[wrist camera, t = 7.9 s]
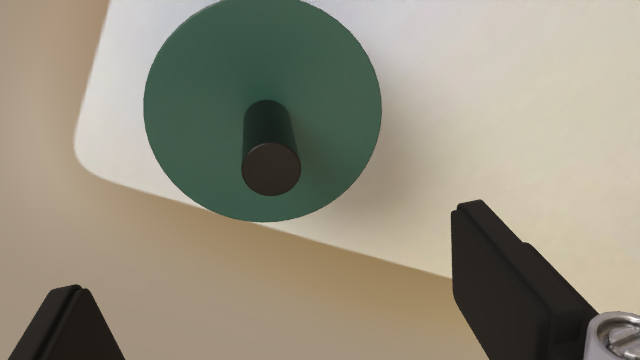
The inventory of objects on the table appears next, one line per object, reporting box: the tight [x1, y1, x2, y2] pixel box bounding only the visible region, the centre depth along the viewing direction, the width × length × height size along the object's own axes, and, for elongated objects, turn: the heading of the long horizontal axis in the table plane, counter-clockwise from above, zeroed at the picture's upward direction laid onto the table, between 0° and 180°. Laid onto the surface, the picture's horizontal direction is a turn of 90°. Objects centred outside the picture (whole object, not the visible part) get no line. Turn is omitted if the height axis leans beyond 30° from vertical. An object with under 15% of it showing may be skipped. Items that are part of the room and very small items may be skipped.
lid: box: [143, 0, 382, 222], centre depth 21 cm, size 12×12×7 cm
